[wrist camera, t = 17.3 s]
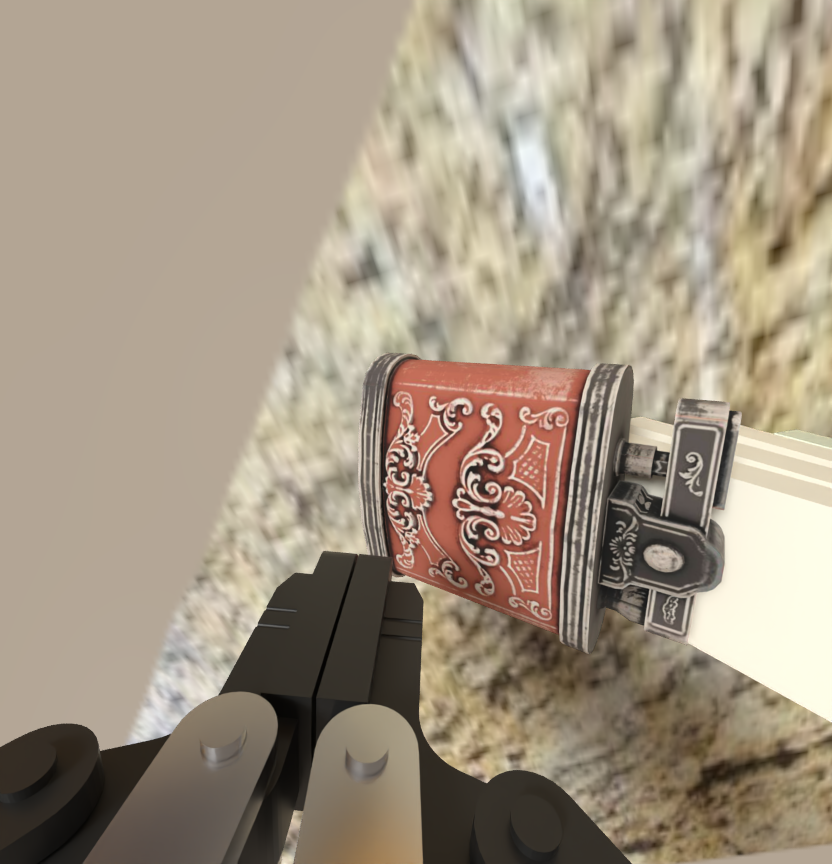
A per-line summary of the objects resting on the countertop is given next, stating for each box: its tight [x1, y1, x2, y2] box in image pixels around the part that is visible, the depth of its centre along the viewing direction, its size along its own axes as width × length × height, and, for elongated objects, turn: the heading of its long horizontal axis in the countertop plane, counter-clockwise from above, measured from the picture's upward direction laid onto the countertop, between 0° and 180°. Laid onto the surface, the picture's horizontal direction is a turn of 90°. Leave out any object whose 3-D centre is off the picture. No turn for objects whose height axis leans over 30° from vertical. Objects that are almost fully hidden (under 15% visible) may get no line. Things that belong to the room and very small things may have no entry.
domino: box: [624, 433, 832, 722], centre depth 13 cm, size 2×5×10 cm
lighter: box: [358, 353, 741, 654], centre depth 13 cm, size 8×3×10 cm
